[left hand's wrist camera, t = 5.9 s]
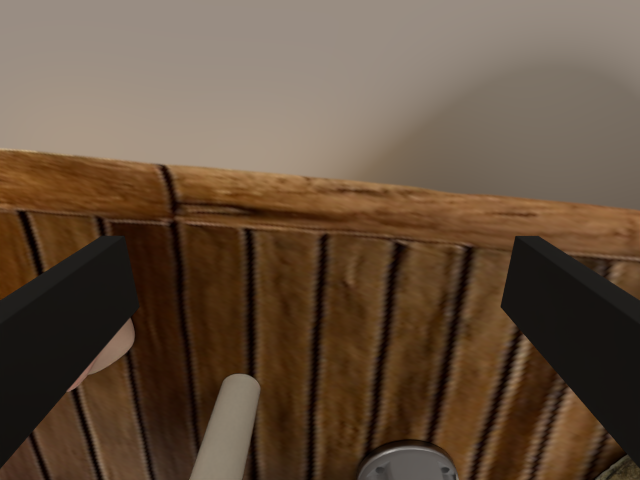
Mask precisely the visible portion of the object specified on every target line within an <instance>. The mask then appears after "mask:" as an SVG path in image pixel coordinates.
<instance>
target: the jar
mask: <svg viewBox="0 0 640 480" xmlns="http://www.w3.org/2000/svg"><path fill="white" fill-rule="evenodd" d="M259 396H260V386H259V384H258V382H257V381H256V380H255V379H254V378H253V377H251V376H249V375H246V374H233V375H230V376H228V377H227V378H226V379H225V380H224V381H223V382H222V385H221V388H220V391H219V394H218V396H217V399H216V402H215V405H214V408H213V411H212V414H211V417H210V420H209V423H208V426H207V429H206V432H205V434H204V437H203V440H202V443H201V446H200V449H199V452H198V455H197V458H196V461H195V464H194V467H193V470H192V472H191V475H190V478H189V480H243V476H244V471H245V466H246V461H247V456H248V451H249V446H250V441H251V436H252V431H253V426H254V421H255V416H256V411H257V406H258V401H259Z"/></svg>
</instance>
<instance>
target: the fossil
mask: <svg viewBox="0 0 640 480" xmlns="http://www.w3.org/2000/svg"><path fill="white" fill-rule="evenodd" d="M595 480H640V468H639V467H638V466H637V465H636V464H635V463H634V461H633V460H632V459H631V458H630V457H629V456H628V455H626V456H624V457H623V458H621V459H620V460H619V461H618V462H616V463H615V464H613V465H612V466H611V467H610V468H609V469H608V470H606V471H605V472H603V473H602V474H601V475H600V476H598V477H597V478H596V479H595Z"/></svg>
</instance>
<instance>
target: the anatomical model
mask: <svg viewBox="0 0 640 480" xmlns="http://www.w3.org/2000/svg"><path fill="white" fill-rule="evenodd" d="M134 338H135V332H134V327H133V323H132V320H131V318H129V320H128V321H127V322H126V323H125V324H124V325H123V327H122V328H121V329H120V330H119V331H118V332H117V334H116V335H115V336H114V337H113V338H112V339H111V341H110V342H109V343H108V344H107V345H106V346H105V348H104V349H103V350H102V351H101V352H100V353H99V354H98V356H97V357H96V358H95V359H94V360H93V361H92V363H91V364H90V365H89V366H88V367H87V368H86V370H85V371H84V372H83V373H82V374H81V375H80V377H79V378H78V379H77V380H76V381H75V382H74V384H73V385H72V386H71V387H70V388H69V389H68V391H71V390H73V389H74V388H76V387H77V386H78V385H79V384H80V383H81V382H82V381H83V380H84V379H85V378H86V376H87V375H89V374H93V373H96V372H98V371H100V370H102V369H104V368H106V367H107V366H109V365H110V364H112V363H113V362H115V361H116V360H118V359H119V358H120V357H122V356H123V355H124V354H125V353H126V352H127V351H128V350H129V349H130V348H131V346H132V345H133V343H134ZM68 391H67V392H68Z"/></svg>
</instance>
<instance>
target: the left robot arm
mask: <svg viewBox="0 0 640 480" xmlns="http://www.w3.org/2000/svg"><path fill="white" fill-rule="evenodd" d="M138 308H139V302H138V298H137V293H136V288H135V283H134V279H133V274H132V269H131V265H130V260H129V255H128V250H127V246H126V241H125V236H101V237H99V238H98V239H96V240H95V241H93V242H91V243H90V244H88V245H87V246H85V247H84V248H82V249H80V250H79V251H77V252H76V253H74V254H73V255H71V256H69V257H68V258H66V259H65V260H63V261H62V262H60V263H58V264H57V265H55V266H54V267H52V268H51V269H49V270H47V271H46V272H44V273H43V274H41V275H40V276H38V277H36V278H35V279H33V280H32V281H30V282H29V283H27V284H25V285H24V286H22V287H21V288H19V289H18V290H16V291H14V292H13V293H11V294H10V295H8V296H7V297H5V298H3V299H2V300H0V468H1V467H2V466H3V465H4V464H5V463H6V461H7V460H8V459H9V458H10V457H11V456H12V454H13V453H14V452H15V451H16V450H17V449H18V448H19V446H20V445H21V444H22V443H23V442H24V441H25V439H26V438H27V437H28V436H29V435H30V434H31V432H32V431H33V430H34V429H35V428H36V427H37V425H38V424H39V423H40V422H41V421H42V420H43V418H44V417H45V416H46V415H47V414H48V413H49V411H50V410H51V409H52V408H53V407H54V406H55V404H56V403H57V402H58V401H59V400H60V399H61V398H62V396H63V395H64V394H65V393H66V392H67V391H68V389H69V388H70V387H71V386H72V385H73V384H74V382H75V381H76V380H77V379H78V378H79V377H80V375H81V374H82V373H83V372H84V371H85V370H86V368H87V367H88V366H89V365H90V364H91V363H92V361H93V360H94V359H95V358H96V357H97V356H98V354H99V353H100V352H101V351H102V350H103V349H104V348H105V346H106V345H107V344H108V343H109V342H110V341H111V339H112V338H113V337H114V336H115V335H116V334H117V332H118V331H119V330H120V329H121V328H122V327H123V325H124V324H125V323H126V322H127V321H128V320H129V318H130V317H131V316H132V315H133V314H134V313H135V311H136V310H137V309H138ZM501 308H502V309H503V310H504V311H505V313H506V314H507V315H508V316H509V317H510V318H511V320H512V321H513V322H514V323H515V324H516V325H517V327H518V328H519V329H520V330H521V331H522V332H523V334H524V335H525V336H526V337H527V338H528V339H529V341H530V342H531V343H532V344H533V345H534V346H535V348H536V349H537V350H538V351H539V352H540V353H541V354H542V356H543V357H544V358H545V359H546V360H547V361H548V363H549V364H550V365H551V366H552V367H553V368H554V370H555V371H556V372H557V373H558V374H559V375H560V377H561V378H562V379H563V380H564V381H565V382H566V384H567V385H568V386H569V387H570V388H571V389H572V391H573V392H574V393H575V394H576V395H577V396H578V398H579V399H580V400H581V401H582V402H583V403H584V404H585V406H586V407H587V408H588V409H589V410H590V411H591V413H592V414H593V415H594V416H595V417H596V418H597V420H598V421H599V422H600V423H601V424H602V425H603V427H604V428H605V429H606V430H607V431H608V432H609V434H610V435H611V436H612V437H613V438H614V439H615V441H616V442H617V443H618V444H619V445H620V446H621V448H622V449H623V450H624V451H625V452H626V453H627V454H628V456H629V457H630V458H631V459H632V460H633V461H634V463H635V464H636V465H637V466H638V467H639V468H640V300H638V299H637V298H635V297H633V296H632V295H630V294H629V293H627V292H626V291H624V290H622V289H621V288H619V287H618V286H616V285H615V284H613V283H611V282H610V281H608V280H607V279H605V278H604V277H602V276H600V275H599V274H597V273H596V272H594V271H593V270H591V269H589V268H588V267H586V266H585V265H583V264H582V263H580V262H578V261H577V260H575V259H574V258H572V257H571V256H569V255H567V254H566V253H564V252H563V251H561V250H560V249H558V248H556V247H555V246H553V245H552V244H550V243H549V242H547V241H545V240H544V239H542V238H541V237H539V236H515V241H514V246H513V250H512V255H511V260H510V265H509V269H508V274H507V279H506V283H505V288H504V293H503V298H502V302H501ZM357 480H459V479H458V474H457V471H456V468H455V465H454V463H453V460H452V459H451V457H450V456H449V455H448V454H447V453H446V452H445V451H444V450H443V449H441V448H439V447H438V446H435V445H433V444H430V443H427V442H422V441H414V440H406V441H398V442H393V443H389V444H386V445H384V446H381V447H379V448H377V449H376V450H374V451H373V452H371V453H370V454H369V455H368V456H366V458H365V459H364V460H363V461H362V462H361V464H360V466H359V468H358V471H357Z"/></svg>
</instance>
